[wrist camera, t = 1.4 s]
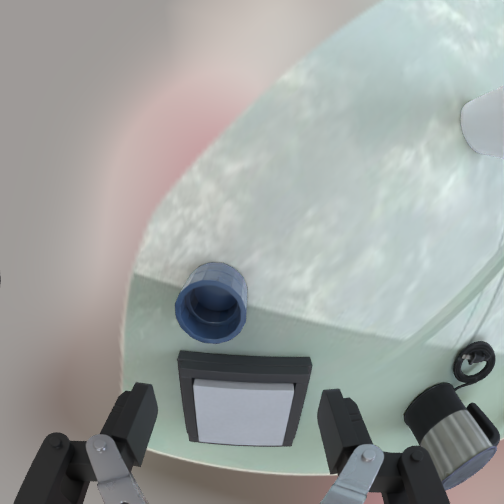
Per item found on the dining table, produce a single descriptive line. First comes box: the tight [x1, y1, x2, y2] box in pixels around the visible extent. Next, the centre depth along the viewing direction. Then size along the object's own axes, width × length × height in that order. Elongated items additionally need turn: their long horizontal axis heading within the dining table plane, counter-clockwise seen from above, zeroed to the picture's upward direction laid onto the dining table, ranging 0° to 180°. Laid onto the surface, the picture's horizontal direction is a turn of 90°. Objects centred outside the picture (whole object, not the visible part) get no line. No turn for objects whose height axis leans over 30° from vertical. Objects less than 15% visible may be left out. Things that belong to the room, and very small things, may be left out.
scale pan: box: [193, 378, 294, 446], centre depth 28 cm, size 10×10×1 cm
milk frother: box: [404, 341, 500, 490], centre depth 24 cm, size 14×16×15 cm
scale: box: [177, 351, 312, 447], centre depth 29 cm, size 14×13×3 cm
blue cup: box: [175, 262, 247, 344], centre depth 24 cm, size 6×6×5 cm
